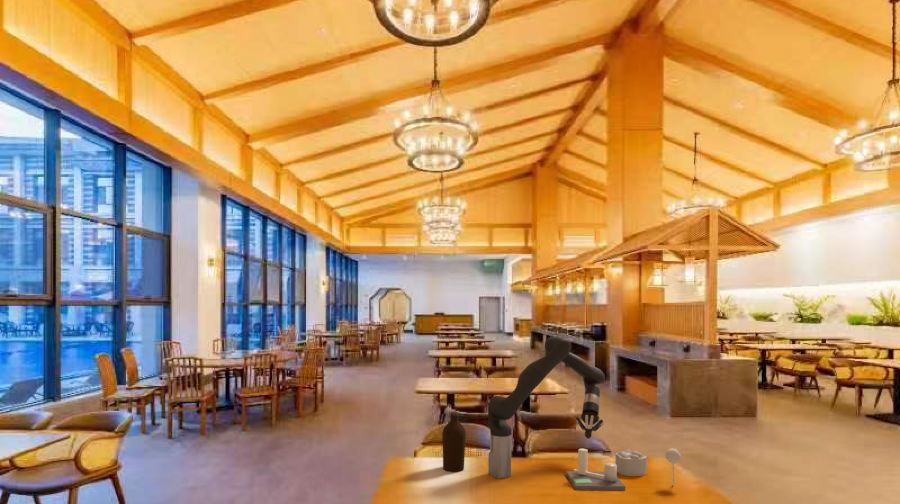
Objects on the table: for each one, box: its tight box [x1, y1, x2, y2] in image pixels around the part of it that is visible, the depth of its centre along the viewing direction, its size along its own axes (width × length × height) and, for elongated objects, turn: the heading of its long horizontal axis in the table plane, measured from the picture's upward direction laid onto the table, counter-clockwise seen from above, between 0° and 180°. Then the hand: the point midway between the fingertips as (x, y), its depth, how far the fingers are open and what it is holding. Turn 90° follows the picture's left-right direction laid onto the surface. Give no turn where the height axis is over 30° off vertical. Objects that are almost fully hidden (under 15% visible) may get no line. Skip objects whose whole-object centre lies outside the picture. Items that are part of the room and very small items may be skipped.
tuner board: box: [565, 470, 626, 491], centre depth 225 cm, size 20×18×2 cm
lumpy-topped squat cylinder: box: [615, 449, 648, 477], centre depth 240 cm, size 10×13×9 cm
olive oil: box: [441, 410, 467, 473], centre depth 240 cm, size 11×11×25 cm
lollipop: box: [664, 447, 682, 486], centre depth 223 cm, size 6×6×15 cm
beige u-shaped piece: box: [573, 447, 618, 482], centre depth 227 cm, size 18×5×10 cm, turn 54°
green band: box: [573, 479, 593, 483], centre depth 221 cm, size 7×4×1 cm, turn 96°
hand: (587, 437), depth 245 cm, fingers closed
